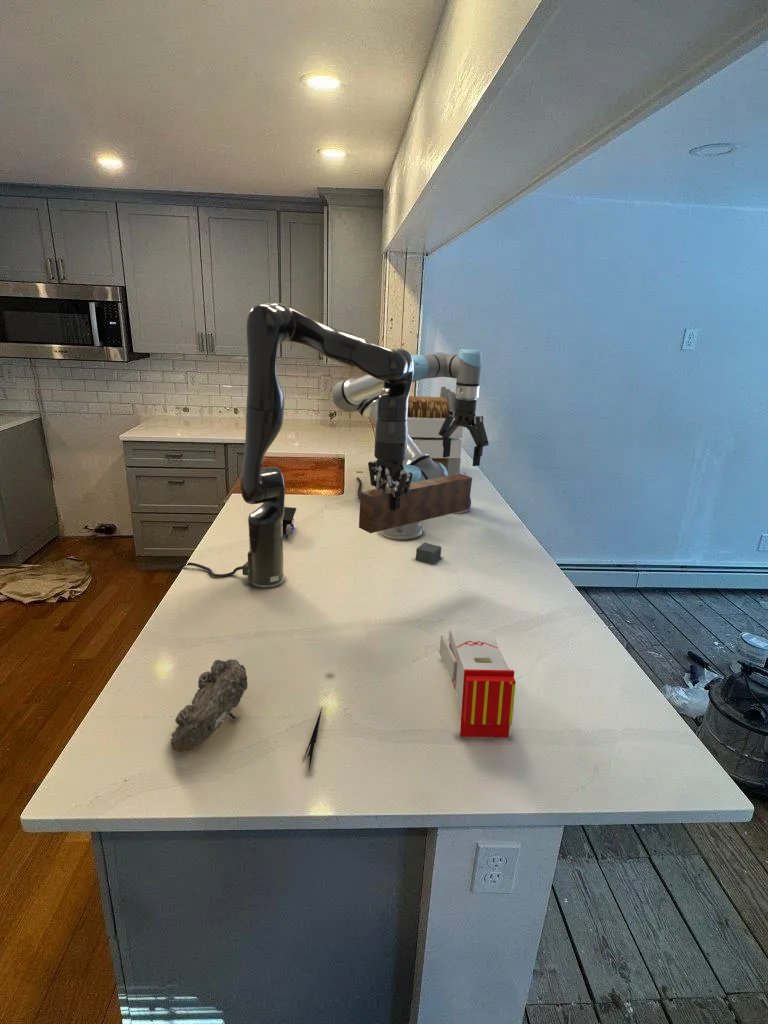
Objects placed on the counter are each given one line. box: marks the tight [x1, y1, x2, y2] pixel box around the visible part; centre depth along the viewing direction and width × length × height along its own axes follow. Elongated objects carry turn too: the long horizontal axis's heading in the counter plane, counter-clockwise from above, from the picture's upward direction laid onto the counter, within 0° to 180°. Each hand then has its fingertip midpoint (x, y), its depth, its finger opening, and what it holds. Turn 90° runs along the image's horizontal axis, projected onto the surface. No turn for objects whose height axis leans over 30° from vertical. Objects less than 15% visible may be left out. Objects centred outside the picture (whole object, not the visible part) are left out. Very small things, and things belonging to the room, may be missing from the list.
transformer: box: [407, 386, 464, 476], centre depth 268 cm, size 34×33×41 cm
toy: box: [438, 628, 517, 738], centre depth 117 cm, size 12×13×30 cm
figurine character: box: [283, 506, 297, 540], centre depth 194 cm, size 7×8×15 cm
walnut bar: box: [358, 473, 473, 534], centre depth 143 cm, size 34×4×9 cm, turn 130°
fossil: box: [170, 658, 249, 753], centre depth 106 cm, size 22×10×15 cm
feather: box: [301, 673, 332, 771], centre depth 108 cm, size 2×28×2 cm
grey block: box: [415, 542, 442, 565], centre depth 180 cm, size 6×6×4 cm
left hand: (387, 507), depth 137 cm, fingers closed on walnut bar, 4 cm apart
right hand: (460, 461), depth 193 cm, fingers open, 13 cm apart
